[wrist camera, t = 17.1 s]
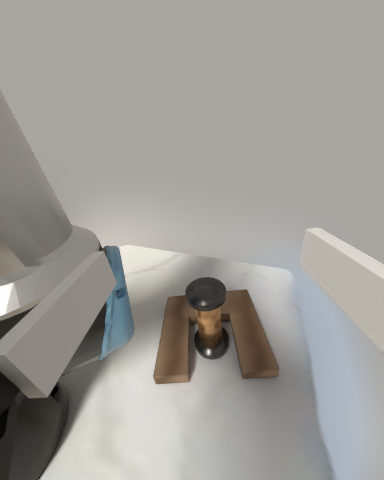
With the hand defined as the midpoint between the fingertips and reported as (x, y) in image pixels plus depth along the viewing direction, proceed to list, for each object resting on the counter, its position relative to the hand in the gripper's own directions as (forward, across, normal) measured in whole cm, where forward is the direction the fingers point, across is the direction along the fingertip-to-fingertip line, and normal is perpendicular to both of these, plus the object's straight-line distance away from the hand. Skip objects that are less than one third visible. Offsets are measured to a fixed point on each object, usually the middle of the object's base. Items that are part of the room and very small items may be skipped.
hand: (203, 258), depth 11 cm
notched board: (+12, 0, -24) cm, 27 cm away
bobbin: (+10, 0, -24) cm, 26 cm away
